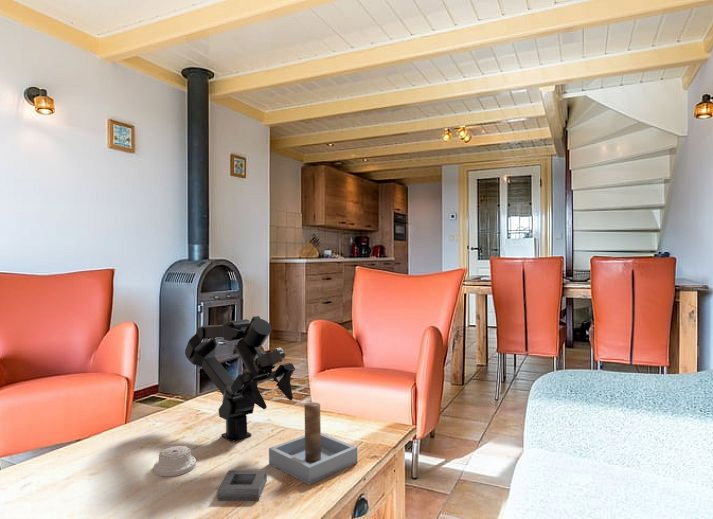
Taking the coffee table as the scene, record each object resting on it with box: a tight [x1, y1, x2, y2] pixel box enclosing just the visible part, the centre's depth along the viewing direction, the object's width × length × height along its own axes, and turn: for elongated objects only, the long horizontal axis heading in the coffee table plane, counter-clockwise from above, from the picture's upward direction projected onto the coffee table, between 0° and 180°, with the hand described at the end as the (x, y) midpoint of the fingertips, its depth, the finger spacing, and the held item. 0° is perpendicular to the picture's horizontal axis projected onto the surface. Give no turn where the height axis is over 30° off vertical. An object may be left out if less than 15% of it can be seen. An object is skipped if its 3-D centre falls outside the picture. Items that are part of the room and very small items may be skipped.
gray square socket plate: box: [217, 469, 268, 501], centre depth 108 cm, size 9×9×2 cm
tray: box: [268, 432, 358, 486], centre depth 122 cm, size 16×16×4 cm
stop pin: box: [304, 401, 322, 463], centre depth 122 cm, size 4×4×14 cm
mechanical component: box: [153, 445, 197, 477], centre depth 120 cm, size 10×4×10 cm
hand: (279, 403), depth 127 cm, fingers open, 9 cm apart
